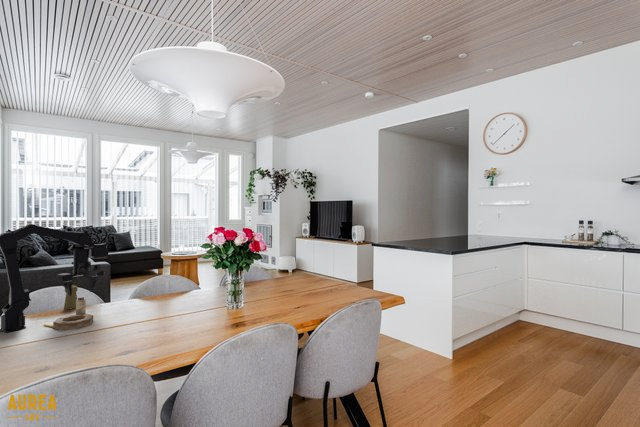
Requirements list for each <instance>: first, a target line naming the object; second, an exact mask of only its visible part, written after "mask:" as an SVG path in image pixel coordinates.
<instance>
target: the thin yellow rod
mask: <svg viewBox="0 0 640 427" xmlns="http://www.w3.org/2000/svg"><path fill="white" fill-rule="evenodd" d="M43 326H44V327H49V328H53V324H47V323H44V324H43Z"/></svg>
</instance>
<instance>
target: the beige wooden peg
mask: <svg viewBox="0 0 640 427" xmlns="http://www.w3.org/2000/svg"><path fill="white" fill-rule="evenodd" d="M86 305H87V299H86V298H85V297H84V296H79V297H77V300H76V308H75V311H76V312H75V315H76V314H87V306H86Z"/></svg>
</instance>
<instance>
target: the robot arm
mask: <svg viewBox="0 0 640 427" xmlns="http://www.w3.org/2000/svg"><path fill="white" fill-rule="evenodd" d="M31 235H39V236H43V237H50V238H54V239H55V238H56V239H60V240H64V241H66V242H71V243H72V244H71V246H70V247H68V248H67V250H68V251H73V261H71V265H73V268H72V270H71V273H67V272H65V273H59V274H58V273H57V274H56V276H55V277H54V282H58V283H60V284H62V286H63V287H64V290H65V289H66V291H67V293H68V295H69V296H71V295H72V285H73V283H74V280H73V279H76V278H81V277H85V278H87V280H88V290H89V292H90V293H91V292H93V290H94V288H95V285H96V283H97V281H98V280H99V279H100V278H102V276H105V270H104V269H102V266H101V265H100V264H95V265H92V262H91V261H90V260H89V259H90V258H89V257H91V259H105V258H106V259H107V258H108V256H109V250H108V247H107V243H100V244H99V243H98V244H95V243H94V242H93V241H92V240H91V236H90V235H89V234H88V233H87V232H83V231H64V230H61V229H56V228H51V227H46V226H40V225H36V224H34V223H29V224H26V225H24V226H22V227H20V228H18V229H15V230H12V231H11V232H5V231H4V232H1V233H0V251H1V253H2V255H3V258H4V263H5V268H6V274H7V281H8V286H9V294H8V302H7V304H6V305H4V306H3V307H2V308H1V311H2V312H3V314H2V315H1V316H0V332H3V333H11V332H14V331H15V332H16V331H19V330H24V329H26V328H27V326H25V325H26V316H25V313H24V310H26V309H27V308H28V307H29V306H30V301H32V299H31V297H30V290H29V289H28V288H25V289H24V287H23V282H22V278H21V271H20V266H19V262H18V261H19V260H18V256H17V252H18V243H19V241H20V240H21V241H22V240H24V239H25V238H26V237H29V236H31ZM74 244H75V245H74ZM76 245H78V246H76ZM84 246H85V247H84Z"/></svg>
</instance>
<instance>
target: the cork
mask: <svg viewBox="0 0 640 427" xmlns="http://www.w3.org/2000/svg"><path fill="white" fill-rule="evenodd" d="M64 292H65V298H64V299H65V300H64V305H63V310H71V309H70V308H75V309H76V300H77V299H78V294H77V292H78V285H73V284H72V295H71V296H69V295H68V293H67V291H66V289H65V288H64Z"/></svg>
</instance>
